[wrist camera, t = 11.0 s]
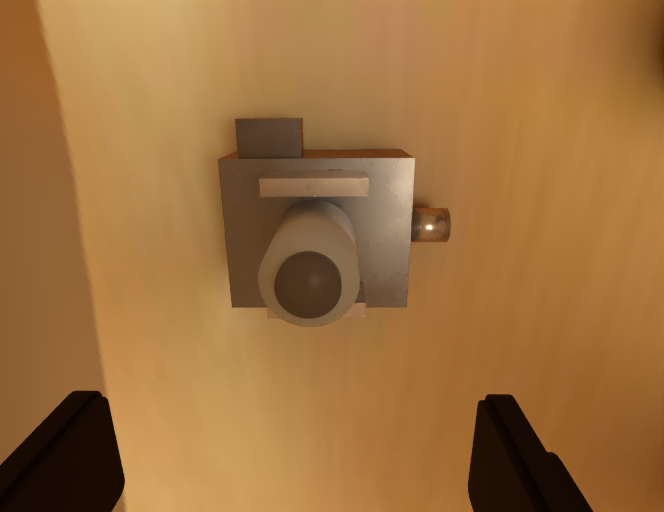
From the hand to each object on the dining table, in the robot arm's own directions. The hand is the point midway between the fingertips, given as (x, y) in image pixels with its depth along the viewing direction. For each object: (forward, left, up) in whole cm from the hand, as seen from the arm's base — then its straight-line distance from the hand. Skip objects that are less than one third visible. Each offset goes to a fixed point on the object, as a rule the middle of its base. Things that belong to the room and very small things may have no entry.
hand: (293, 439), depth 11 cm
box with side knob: (-1, -1, -24) cm, 24 cm away
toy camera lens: (0, 0, -18) cm, 18 cm away
